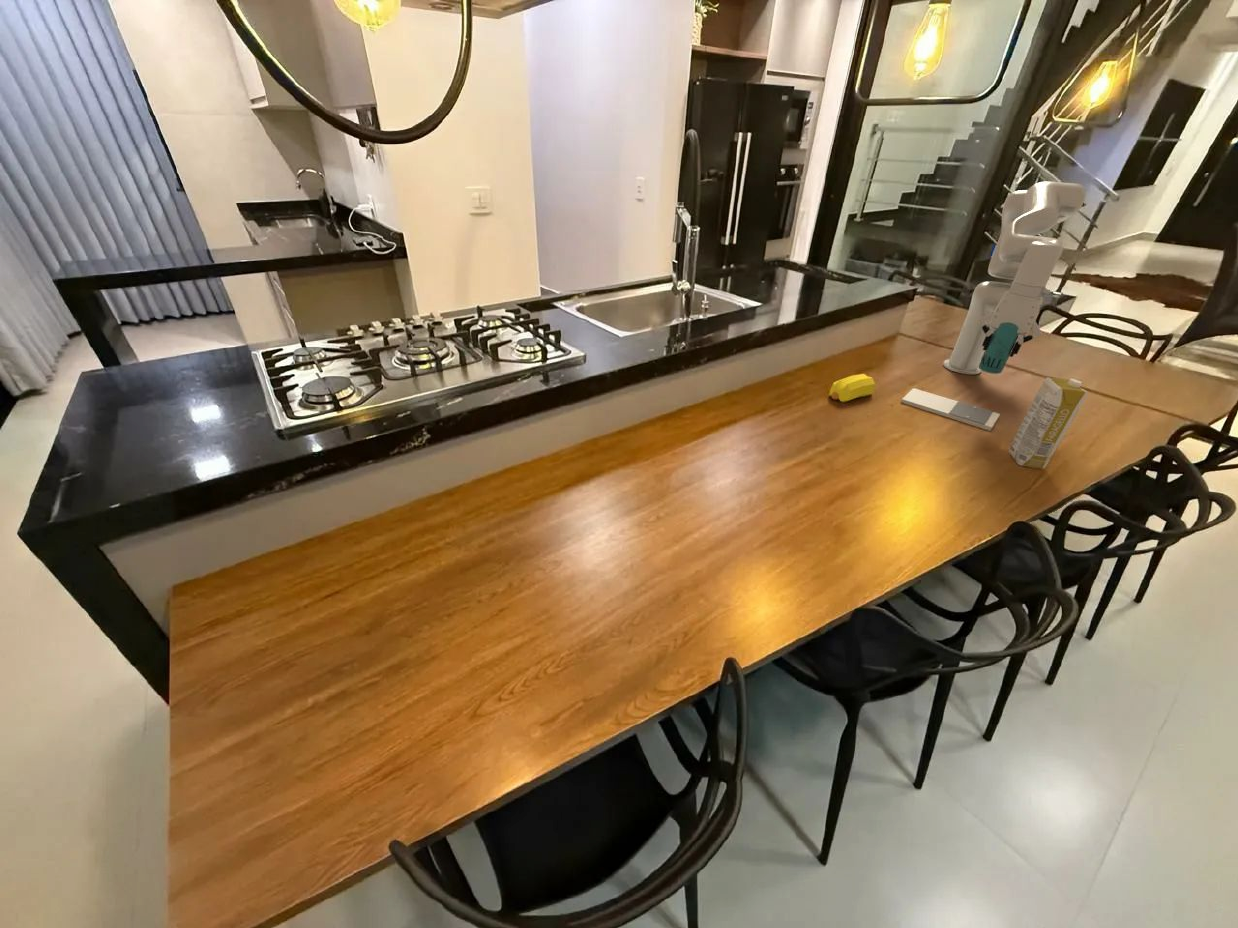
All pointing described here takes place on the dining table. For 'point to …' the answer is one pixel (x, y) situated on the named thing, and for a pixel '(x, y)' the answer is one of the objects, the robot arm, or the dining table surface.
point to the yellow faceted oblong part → (852, 387)
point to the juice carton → (1047, 421)
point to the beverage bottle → (999, 348)
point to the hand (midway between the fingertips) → (998, 351)
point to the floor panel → (951, 408)
